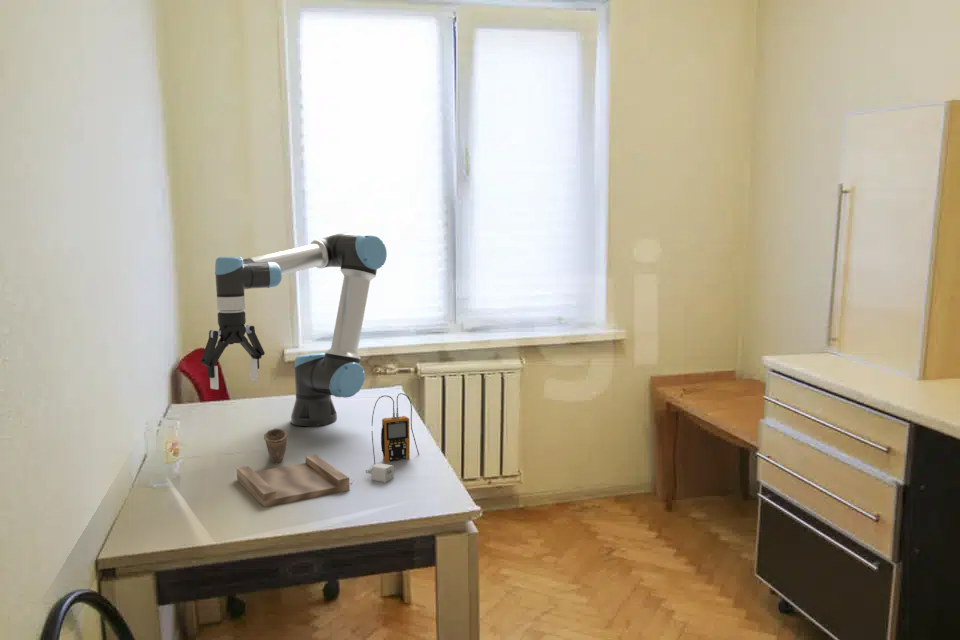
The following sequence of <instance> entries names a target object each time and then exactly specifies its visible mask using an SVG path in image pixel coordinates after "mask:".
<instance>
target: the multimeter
mask: <svg viewBox="0 0 960 640" xmlns="http://www.w3.org/2000/svg"><path fill="white" fill-rule="evenodd" d="M399 395H403V396H405V397H406V398H407V399H408V401H409V404H410V418H409V417H408V416H405V415H402V416H399V403H398V398H399ZM384 397H385V395H381V396H379V397H378V398H377V400H376V402H375V404H374V406H373V411H372V415H371V417H372V418H371V425H373V423H374V422H373V421H374V414H375V409H376V406H377V403H378V401H379V400H380V399H381V398H384ZM386 397H388V398H389V399H391V400H392V405H393V408H392V417H384V418H382V420H381V428H380V431H381V432H380V446H381V452H382V461H384V464H388V463H391V462H396V461H403V460H410V457H411V456H410V453H411V451H410V450H411V449H410V437H411V436H410V430H411V433H412V437H413V440H414V444H415V448H416V450H417V454H418V455H420V452H419V449H418V446H417V442H416V438H415V435H414V432H413V431H414V430H413V426H412V424H413V423H412V421H413V419H412V417H413V416H412V415H413V414H412V413H413V410H412V409H413V405H412V401H411V399H410V397H409V396H408V395H406V394H405V393H398V394H397V397H396V412H395V401H394V399H393V397H391V396H390V395H386ZM373 434H374V433H373V432H371V441H372V442H371V443H372V451H373V454H372V455H373V461H374V463H373V464H374V465H376V455H375V448H374V447H375V446H374V436H373Z"/></svg>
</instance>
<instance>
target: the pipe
mask: <svg viewBox="0 0 960 640" xmlns="http://www.w3.org/2000/svg"><path fill="white" fill-rule="evenodd" d="M263 440H264V441H265V445H266V449H267V453H268V455H269V457H270V458H271V460H272V462H273V463H274V464H275V465H276V464H280V463H281V462H282V460H283V457H284V456H285V452H286V448H287V443H288V442H287V440H288V432H287V431H286V430H285V429H284V428H273V429H269V430H267V431H266V432H265V433H264V435H263Z"/></svg>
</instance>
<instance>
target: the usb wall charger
mask: <svg viewBox="0 0 960 640" xmlns="http://www.w3.org/2000/svg"><path fill="white" fill-rule="evenodd" d="M394 470H395V468H394V465H392V464H388V463H380V462H379V463H378V462H377V463H375V464H374V465H372V466H371V468H370V470H365V473H366V474H369V475H370V474H371V480H372V481H374V482H375V481H376V482H382V483H387V482H388V481H390V480H392V479H394V475H395V473H394V472H395V471H394Z"/></svg>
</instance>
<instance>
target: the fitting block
mask: <svg viewBox="0 0 960 640" xmlns="http://www.w3.org/2000/svg"><path fill="white" fill-rule="evenodd" d="M236 481H238V482H239V483H240V484H241V486H243V488H245V490H247V491H248V493H249V494H250V495H251V496H253V497H254V498H255V500H257V502H258V503H259V504H260V505H261V506H262V507H264V508H266V507H267V508H268V507H272V506H277V505H283V504H287V503H292V502H297V501H303V500H307V499H313V498H318V497H324V496H327V495H333V494H338V493H344V492H348V491H350V489H351V488H350V477H349V476H348V475H346V474H344V473H343V472H341V471H340V470H339V469H338V468H336V467H334V466H333V465H331V464H330V463H328V462H327V460H324V459H323V458H321V457H320V456H318V455H317V454H312V455H308V456H305V462H302V463H297V464H290V465H285V466H277V467H274V468H267V469H262V470H255V471H254V470H253V469H252V468H251V467H250V466H248V465H247V466H241V467H240V466H239V467H237V468H236Z"/></svg>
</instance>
